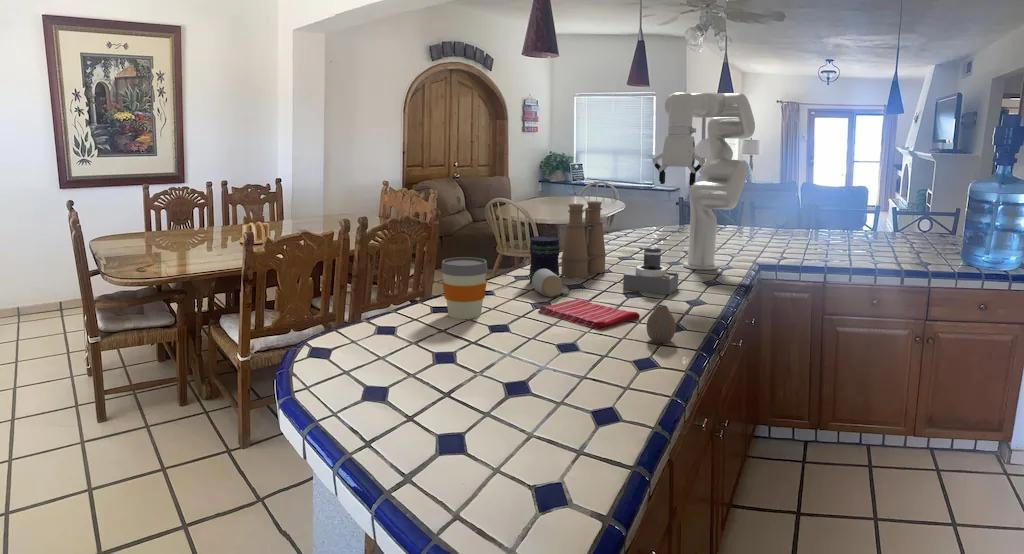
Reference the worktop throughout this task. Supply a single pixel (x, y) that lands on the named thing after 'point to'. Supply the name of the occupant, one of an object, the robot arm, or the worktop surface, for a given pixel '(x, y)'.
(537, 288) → the ceramic mug
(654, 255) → the lens
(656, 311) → the vase
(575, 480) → the worktop surface
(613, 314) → the dish towel
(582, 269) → the binoculars
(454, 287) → the reusable coffee cup
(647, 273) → the camera body
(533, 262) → the storage jar
